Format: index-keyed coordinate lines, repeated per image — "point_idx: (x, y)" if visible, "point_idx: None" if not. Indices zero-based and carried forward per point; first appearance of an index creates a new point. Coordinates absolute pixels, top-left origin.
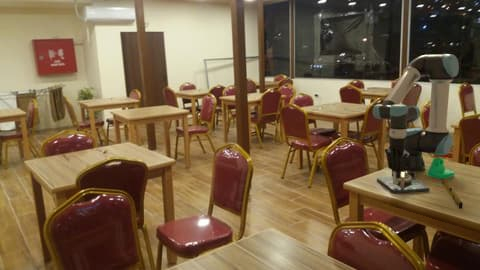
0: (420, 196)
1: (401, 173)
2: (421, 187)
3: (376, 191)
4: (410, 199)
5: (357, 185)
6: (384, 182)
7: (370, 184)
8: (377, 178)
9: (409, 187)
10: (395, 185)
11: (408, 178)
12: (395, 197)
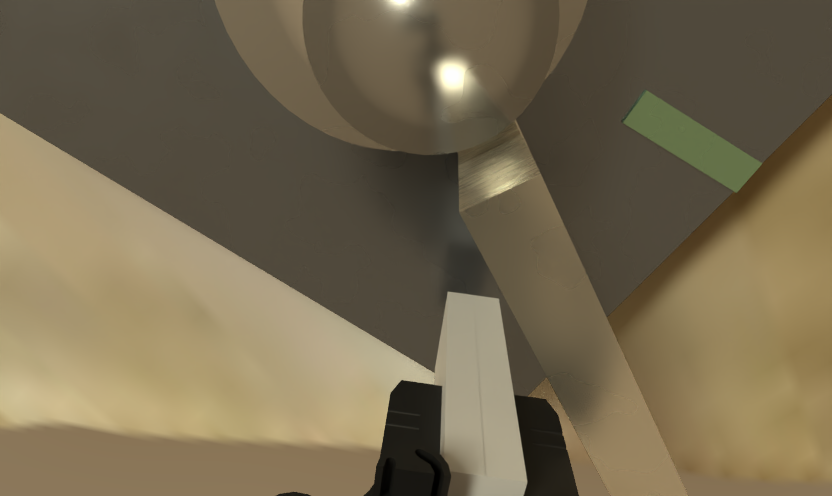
0: (820, 240)
1: (530, 337)
2: (825, 36)
3: (311, 412)
4: (733, 396)
5: (38, 384)
6: (224, 226)
7: (88, 263)
8: (1, 109)
9: (638, 181)
10: (422, 239)
11: (572, 35)
12: (567, 438)
